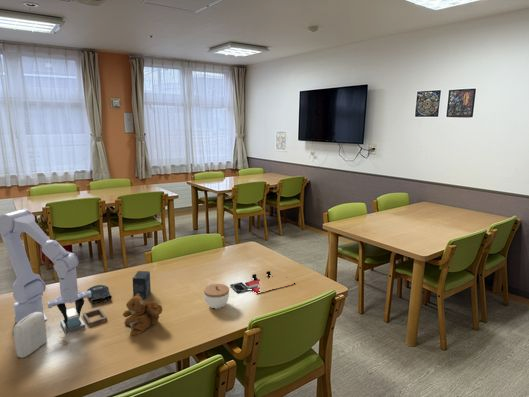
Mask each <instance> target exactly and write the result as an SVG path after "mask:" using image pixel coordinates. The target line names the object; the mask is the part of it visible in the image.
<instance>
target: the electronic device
mask: <svg viewBox="0 0 529 397" xmlns="http://www.w3.org/2000/svg"><path fill="white" fill-rule="evenodd" d="M109 290H110V289H109V286H107V285H105V284H104V285H103V284H96V285H93V286H91V287H89V288H88V289H87V290H86V291H91V296H92V297H87V298H88V301H90V304H91V306H93V305H95V304H101V303H104V302H106V301H107V302H108V301H111V299H113V296H112V295H111V293H110V291H109ZM98 299H101V300H98ZM93 300H98V301H96V303H95V302H94V301H93Z"/></svg>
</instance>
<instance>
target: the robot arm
mask: <svg viewBox="0 0 529 397" xmlns="http://www.w3.org/2000/svg"><path fill="white" fill-rule="evenodd" d="M22 233H26V234H27V235H28V236H29V237H31V239H33V240H34V241H35V242H37V243H38V245H40V246H41V252H42V253H43V255H45V256H46V257H47V258H48V259H49V260H50V261H51V262H52V263H53V264H54V265H53V269H54V271H55V272H56V273H57V278H58V280H59V291H60V297H59V296H58V297H57V298H54V299H52V300H48V301H46V302H47V308H48V309H52V308H53V307H57V308H58V309H57V310H59V311H60V312H61V314H62V316H63V319H64V320H65V322H67V321H68V320H67V313H66V310H67V306H66V304H72V303H73V304H75V309H76V311H77V313H78V315H79V318H80V317H81V316H80V315H81V311H82V308H83V306H84V304H85V298H88V297H92V296H91V291H87V290H86V291H80V292H79V289H78V288H79V287H78V277H77V268H76V267H78V266H79V264H80V260H79V257H78V255H76V254H75V253H73V252H71V251H68V250H66V249H65V248H64V247H63V246H62V245H61V244H60V243H59V242H58V241H57V240H56V239H50V238H49V236H48V235H47V234H46V233H45V232H44V230H43V229H42V228H41V227H40V226H39V225H38V223H37V222H36V217H35V215H34V214H33V213H32V211H31V210H29V209H27V208H21V209H19V210H15V211H12V212H8V213H3V214H0V236H1V240H2V241H3V245H4V247H5V250H6V252H7V255H8V258H9V261H10V264H11V265H12V269H13V271H14V274H15V277H16V279H15V281H14V282H13V284H12V285H11V288H12V291H13V292H12V297H13V298H14V300H15V301H16V302H13V311H14V323H15V322H16V324H17V323H18V322H19V321H20V320H22V319H23V318H24V317H26V316H28V315H30V314H32V313H34V312H42V313H43V315H44V318H45V322H46V321H47V320H48V319H47V316H46V314H45V311H44V303H43V296H44V292H45V291H46V288H47V287H46V283H45V281H44V280H43V279H42V278H41V274H37V273H35V272H33V269H32V266H31V264H30V261H29V260H30V259H29V258H28V255H27V251H26V249H25V247H24V244H23V240H22V239H21V234H22ZM16 324H15V325H16Z"/></svg>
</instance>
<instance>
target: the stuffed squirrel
mask: <svg viewBox="0 0 529 397" xmlns="http://www.w3.org/2000/svg"><path fill="white" fill-rule="evenodd" d="M125 308H127V309H128V310H124V311H123V313H122V316H123V317H124V318H125V320H124V325H126V326H130V328H131V330H130V332H129V335H130V336H135V335H136V336H137V335H139V334H142V333H144V332H145V331H146V330H147V329H148V327H152V326H154V325H156V324H157V323H158V322H159V318H160V315H161V314H162V313H163V310H164V309H163V306H162V305H161V304H160V303H159V302H157V301H155V300H152V301H148V302H147V303H145V304H144V300H142V298H141V297H140V294H139V293H138V294H137V295H136V296H134V297H133V296H132V297H131V298H129V300H128V301H127V302H126V304H125Z"/></svg>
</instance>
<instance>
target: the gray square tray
mask: <svg viewBox="0 0 529 397" xmlns="http://www.w3.org/2000/svg"><path fill="white" fill-rule="evenodd" d="M59 320H60V321H59V322H60V325H61V327H62V329H63V331H64V334H65V335H69V334H71V333H74V332H77V331H81V330H84V329H86V324H85V322H84V321H83V319H82V317H81V316H80V318H79V325H78V326H75V327H72V328H68V326H66V325H67V324H66V322H65V320H64V318H62V319H59Z"/></svg>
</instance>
